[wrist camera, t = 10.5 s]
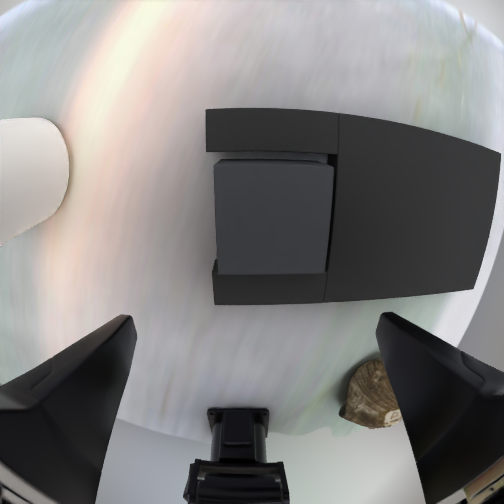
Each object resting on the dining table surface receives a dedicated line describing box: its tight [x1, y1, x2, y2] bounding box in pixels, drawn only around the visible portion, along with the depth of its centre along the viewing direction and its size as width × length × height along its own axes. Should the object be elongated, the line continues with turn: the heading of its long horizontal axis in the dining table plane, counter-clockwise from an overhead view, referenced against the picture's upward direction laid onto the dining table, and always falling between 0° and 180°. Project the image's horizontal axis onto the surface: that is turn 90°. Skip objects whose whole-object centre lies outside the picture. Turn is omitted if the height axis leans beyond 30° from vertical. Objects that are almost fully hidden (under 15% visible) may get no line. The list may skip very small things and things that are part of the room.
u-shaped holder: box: [206, 108, 501, 305], centre depth 17 cm, size 12×22×2 cm, turn 90°
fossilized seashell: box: [339, 359, 403, 429], centre depth 22 cm, size 8×7×10 cm
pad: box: [214, 159, 334, 275], centre depth 16 cm, size 6×6×4 cm
